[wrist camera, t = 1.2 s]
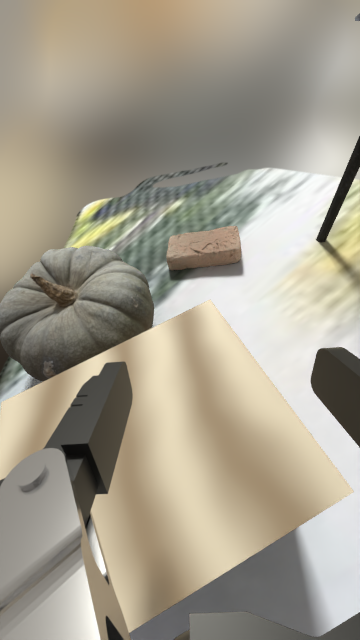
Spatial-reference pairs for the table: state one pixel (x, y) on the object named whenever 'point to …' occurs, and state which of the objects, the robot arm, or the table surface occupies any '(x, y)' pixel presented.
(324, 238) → the solar garden light
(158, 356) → the box
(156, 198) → the table surface
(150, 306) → the gourd
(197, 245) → the brick
